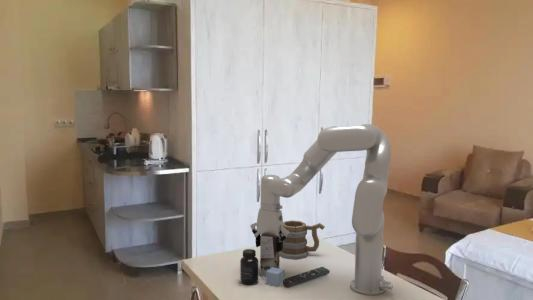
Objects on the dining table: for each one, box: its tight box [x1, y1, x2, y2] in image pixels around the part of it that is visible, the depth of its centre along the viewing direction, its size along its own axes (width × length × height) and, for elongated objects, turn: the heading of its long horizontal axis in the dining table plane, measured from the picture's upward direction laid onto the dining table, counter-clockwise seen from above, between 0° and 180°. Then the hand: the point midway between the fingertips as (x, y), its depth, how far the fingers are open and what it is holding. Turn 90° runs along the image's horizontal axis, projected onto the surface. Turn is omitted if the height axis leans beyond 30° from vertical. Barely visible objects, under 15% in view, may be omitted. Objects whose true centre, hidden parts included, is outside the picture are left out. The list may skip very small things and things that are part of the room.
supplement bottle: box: [239, 248, 259, 286], centre depth 165 cm, size 7×7×12 cm
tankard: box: [280, 220, 325, 260], centre depth 193 cm, size 20×13×15 cm, turn 73°
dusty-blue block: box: [265, 267, 285, 288], centre depth 164 cm, size 5×5×5 cm
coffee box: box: [259, 234, 281, 277], centre depth 174 cm, size 9×6×16 cm
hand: (268, 248), depth 174 cm, fingers open, 9 cm apart
